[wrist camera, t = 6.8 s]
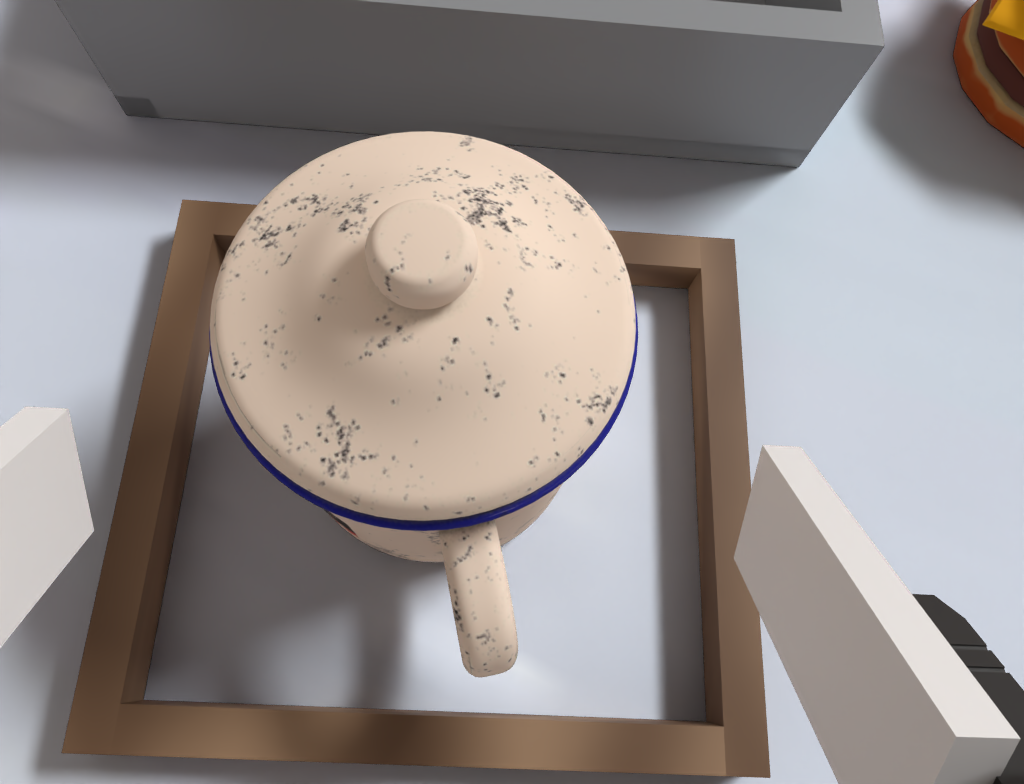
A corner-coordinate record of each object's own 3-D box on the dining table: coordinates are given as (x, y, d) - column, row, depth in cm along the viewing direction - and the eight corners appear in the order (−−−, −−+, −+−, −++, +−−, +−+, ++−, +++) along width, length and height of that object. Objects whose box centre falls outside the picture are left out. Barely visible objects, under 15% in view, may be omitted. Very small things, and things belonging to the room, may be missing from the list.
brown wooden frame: (719, 261, 26) (734, 239, 25) (749, 769, 21) (770, 777, 20) (197, 224, 26) (182, 199, 24) (89, 745, 20) (61, 752, 19)
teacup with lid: (279, 324, 25) (132, 64, 14) (543, 280, 26) (605, 8, 15) (328, 705, 21) (182, 770, 10) (634, 633, 22) (806, 620, 11)
